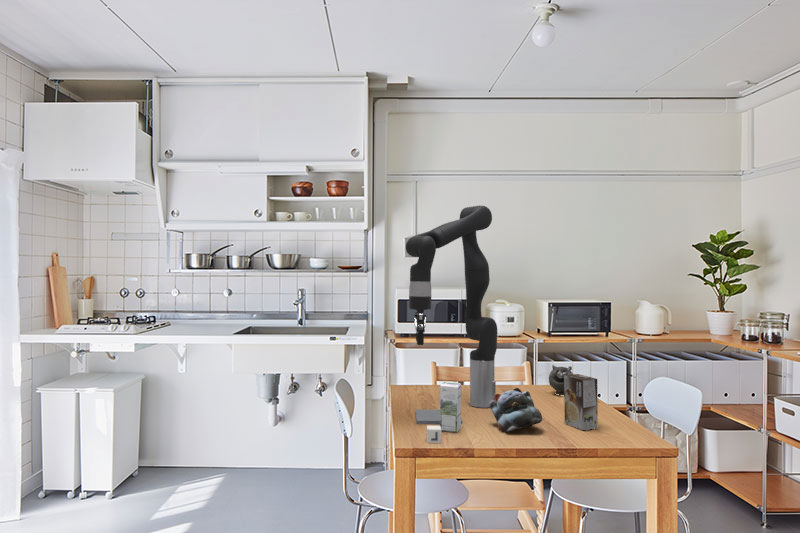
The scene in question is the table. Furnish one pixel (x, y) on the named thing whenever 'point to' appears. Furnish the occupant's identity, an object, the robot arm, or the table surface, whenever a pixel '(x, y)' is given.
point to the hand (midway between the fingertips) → (419, 343)
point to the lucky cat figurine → (514, 410)
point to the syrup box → (450, 407)
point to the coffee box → (580, 401)
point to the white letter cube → (433, 434)
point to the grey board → (428, 416)
